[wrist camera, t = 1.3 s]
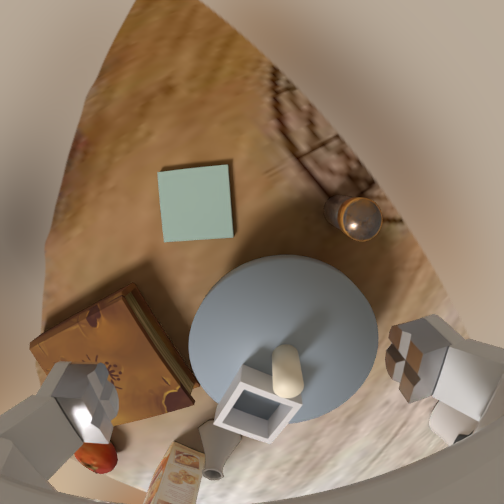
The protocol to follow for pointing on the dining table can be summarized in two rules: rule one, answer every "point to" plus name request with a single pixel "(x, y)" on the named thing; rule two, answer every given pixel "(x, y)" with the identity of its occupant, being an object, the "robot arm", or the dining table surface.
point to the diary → (123, 354)
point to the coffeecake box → (177, 477)
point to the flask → (216, 448)
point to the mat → (196, 203)
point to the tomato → (97, 457)
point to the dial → (281, 343)
